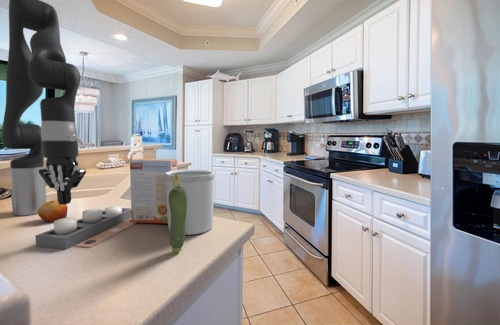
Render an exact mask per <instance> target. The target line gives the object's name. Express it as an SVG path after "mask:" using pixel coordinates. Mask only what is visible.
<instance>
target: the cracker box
mask: <svg viewBox="0 0 500 325" xmlns="http://www.w3.org/2000/svg"><path fill="white" fill-rule="evenodd" d="M178 168H179V167H178V159H177V158H176V159H175V158H173V159H171V158H170V159H167V158H165V159H164V158H163V159H162V158H134V159H130V160H129V171H130V172H129V173H130V174H129V175H130V178H129V179H130V208H131V216H132V222H138V223H144V224H146V223H147V224H165V225H168V216H167V180H166V177H165V173H166V172H170V171H177V170H179V169H178Z"/></svg>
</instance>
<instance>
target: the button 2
mask: <svg viewBox="0 0 500 325" xmlns="http://www.w3.org/2000/svg"><path fill="white" fill-rule="evenodd" d="M122 208H123V207H122V206H120V205H119V206H117V205H115V206H107V207H105V208H104V210H105V214H112V215H116V214H118V213H121V212H122Z"/></svg>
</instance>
